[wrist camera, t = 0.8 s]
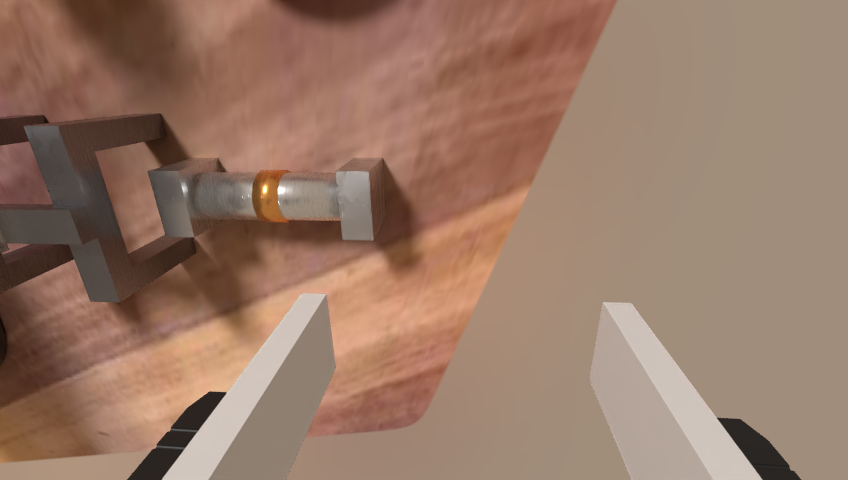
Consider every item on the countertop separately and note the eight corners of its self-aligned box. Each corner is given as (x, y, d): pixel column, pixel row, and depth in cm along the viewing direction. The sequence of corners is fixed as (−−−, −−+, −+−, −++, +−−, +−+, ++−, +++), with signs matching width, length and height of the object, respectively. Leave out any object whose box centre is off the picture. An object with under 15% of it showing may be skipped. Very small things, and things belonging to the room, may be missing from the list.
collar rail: (69, 250, 33) (-73, 312, 24) (18, 115, 29) (-174, 131, 20) (196, 252, 32) (95, 318, 23) (160, 113, 28) (22, 129, 19)
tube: (205, 215, 30) (166, 236, 26) (191, 158, 29) (147, 170, 25) (386, 217, 29) (373, 240, 25) (382, 157, 28) (368, 171, 24)
